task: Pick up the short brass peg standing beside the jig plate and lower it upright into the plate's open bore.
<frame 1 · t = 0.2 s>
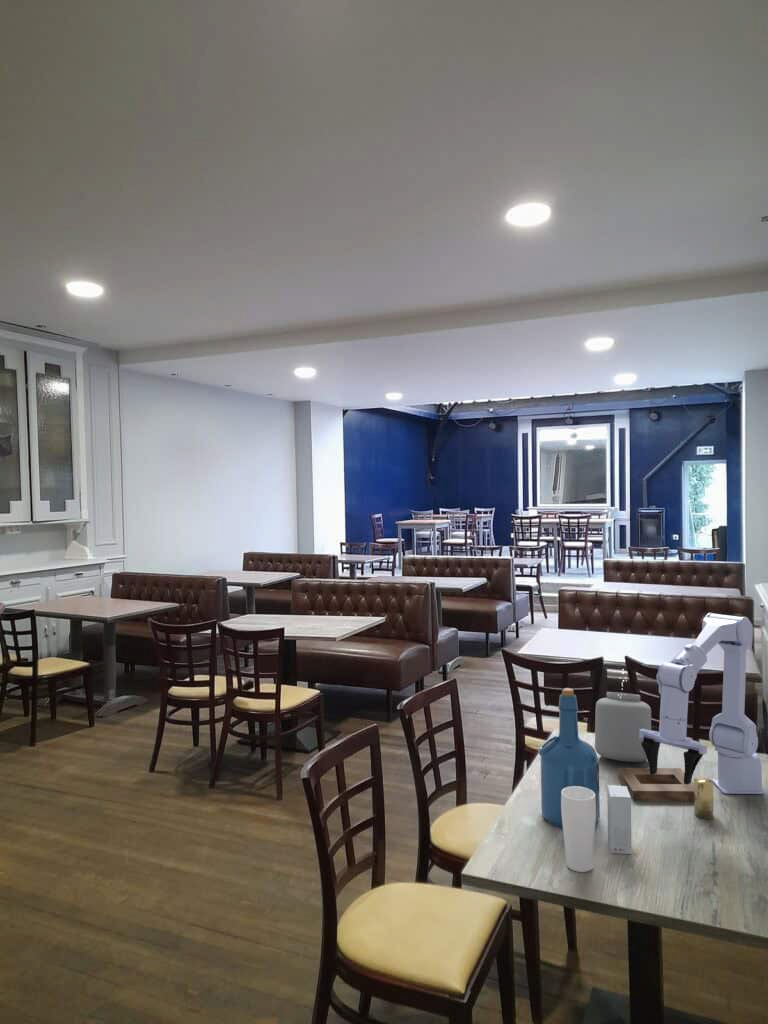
hand: (670, 778, 155), 10 cm above the table, tool pointing down, fingers open, 7 cm apart
jar: (623, 759, 194), on the table
wine bottle: (569, 818, 159), on the table
brass peg: (703, 815, 159), on the table
jig plate: (657, 788, 173), on the table
skincare box: (619, 847, 146), on the table
drinking glass: (579, 867, 139), on the table
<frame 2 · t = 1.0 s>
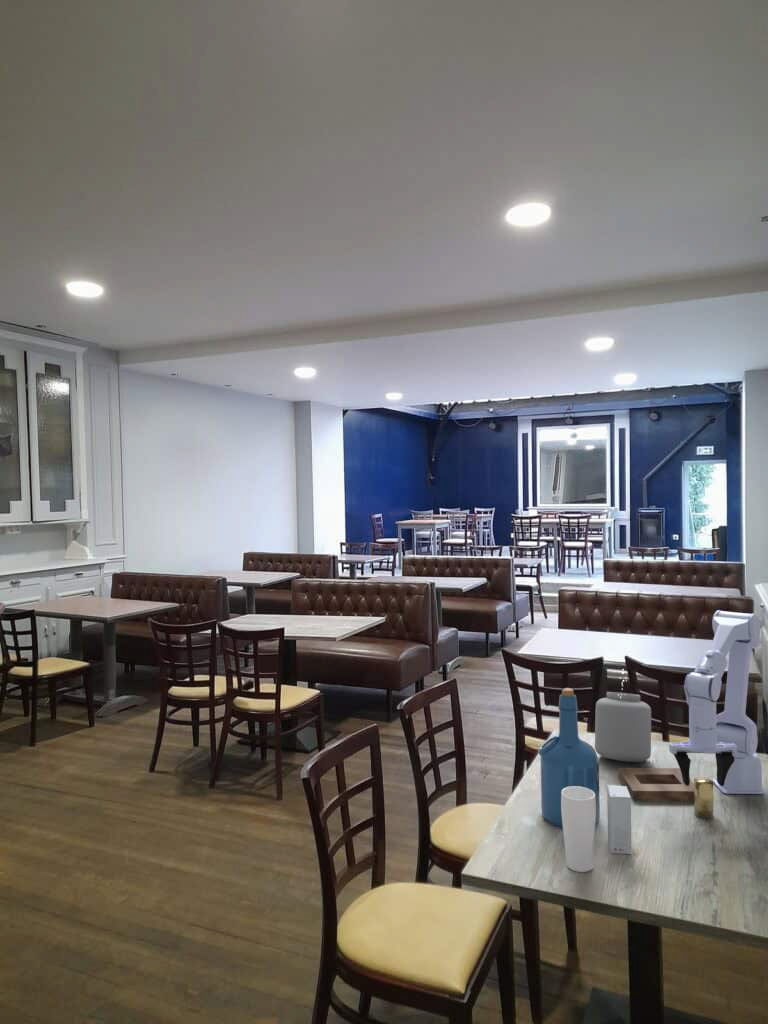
hand: (703, 784, 159), 7 cm above the table, tool pointing down, fingers open, 7 cm apart
nothing on the table moved.
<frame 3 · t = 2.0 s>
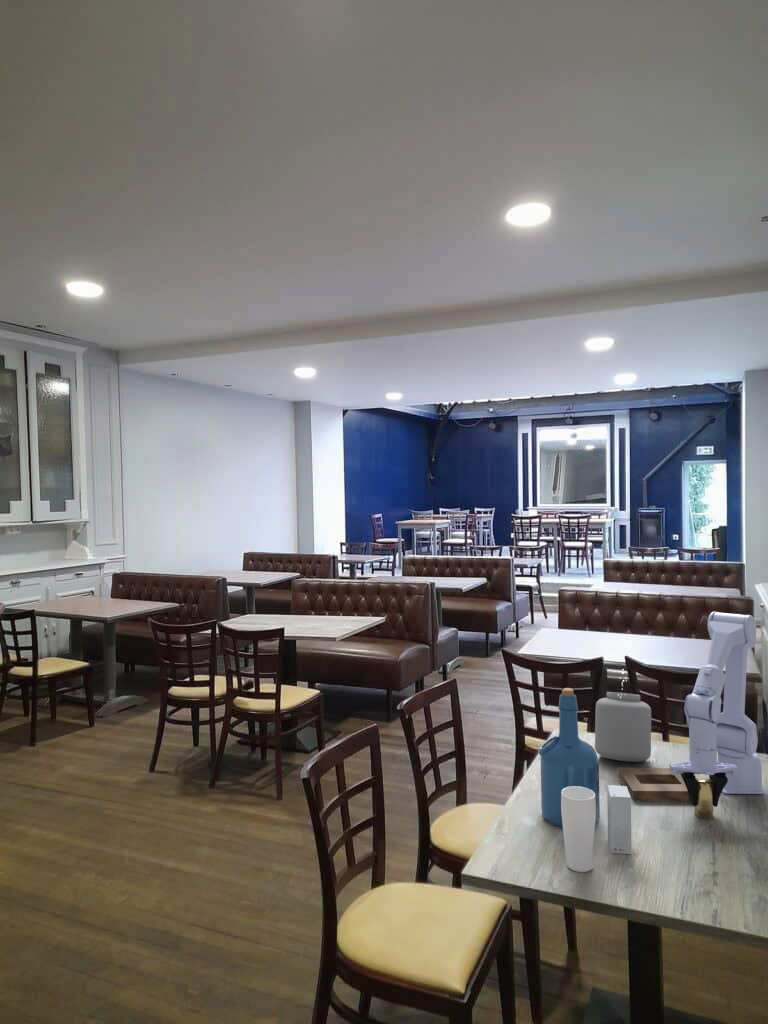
hand: (703, 804, 159), 2 cm above the table, tool pointing down, fingers closed on brass peg, 4 cm apart
brass peg: (703, 815, 159), on the table, touching gripper
everything else where it was.
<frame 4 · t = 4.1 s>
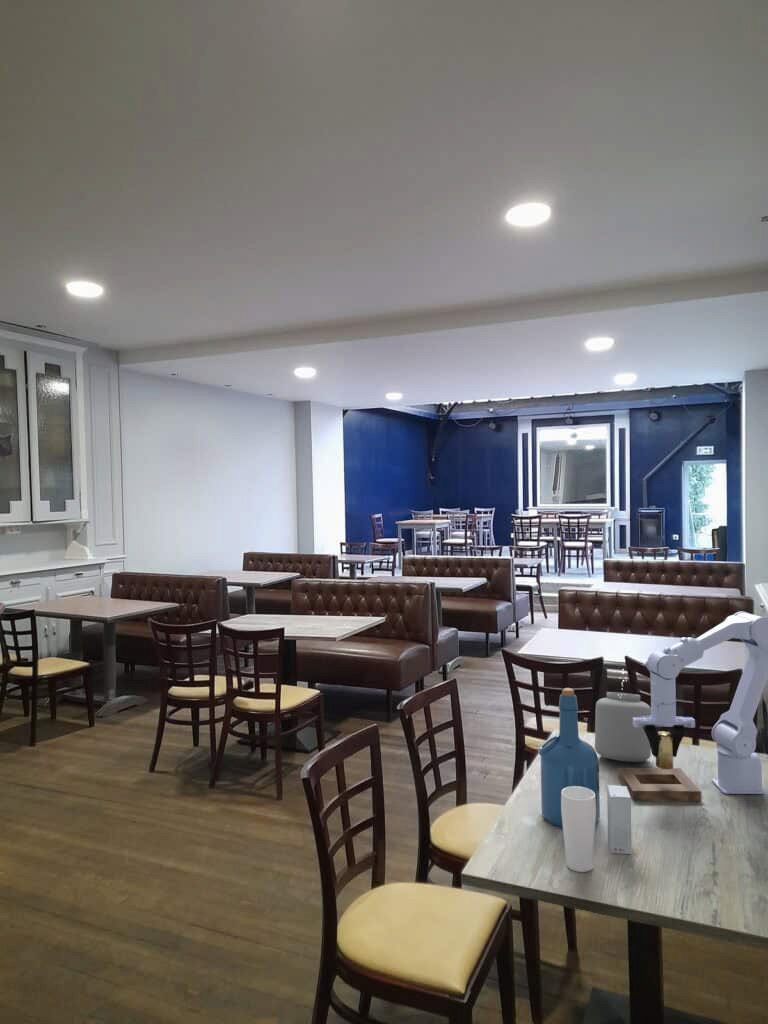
hand: (664, 755, 171), 9 cm above the table, tool pointing down, fingers closed on brass peg, 4 cm apart
brass peg: (664, 765, 171), point 7 cm above the table, touching gripper
everything else where it was.
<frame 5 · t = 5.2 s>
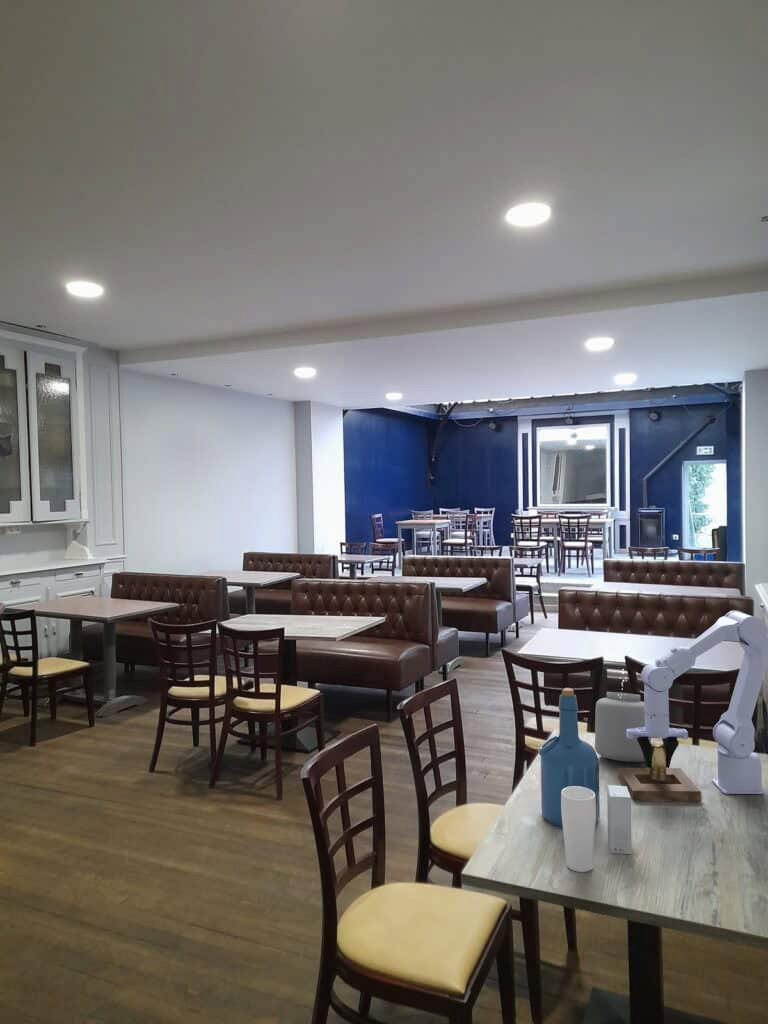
hand: (657, 766, 173), 6 cm above the table, tool pointing down, fingers closed on brass peg, 4 cm apart
brass peg: (657, 776, 173), point 3 cm above the table, touching gripper
everything else where it was.
when the fingers open (4 cm above the table, at t = 6.1 s): brass peg drops 1 cm, resting in jig plate.
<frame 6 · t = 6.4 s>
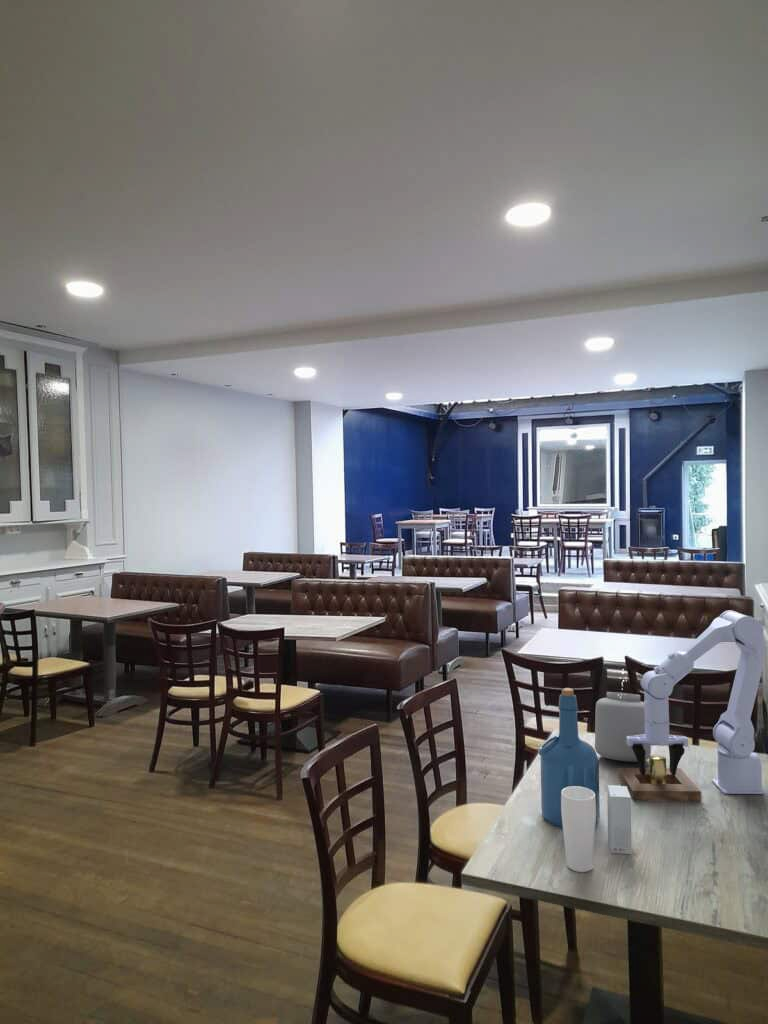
hand: (657, 773, 173), 4 cm above the table, tool pointing down, fingers open, 7 cm apart
brass peg: (657, 789, 173), resting in jig plate
everything else where it was.
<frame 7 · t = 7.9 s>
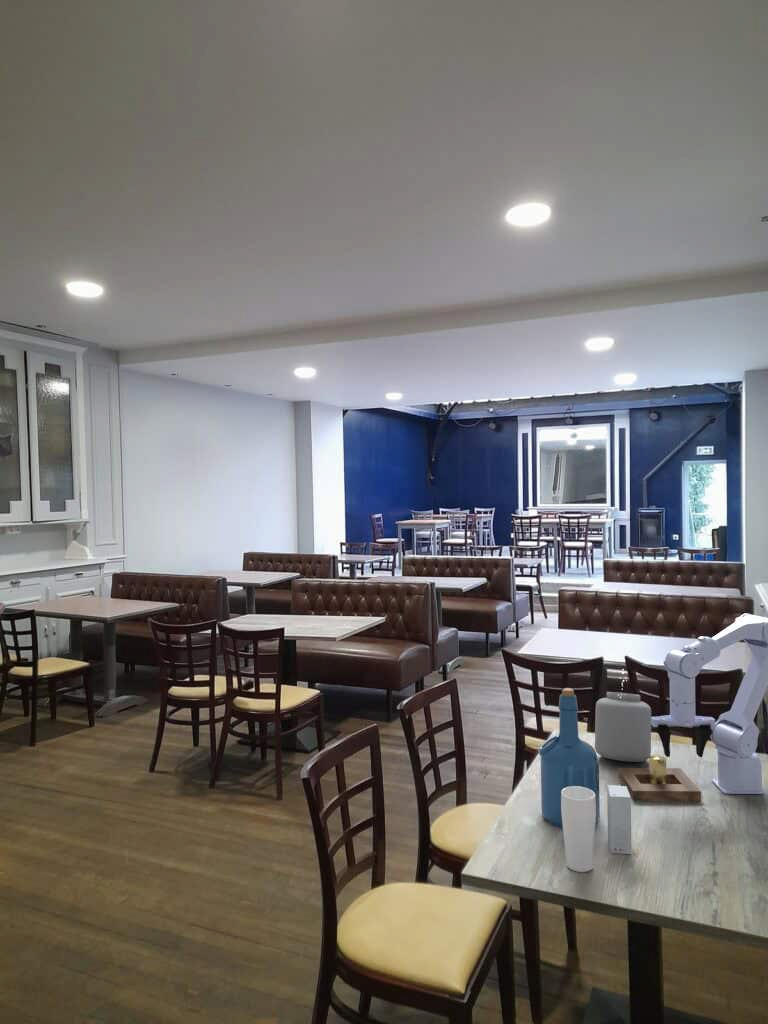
hand: (683, 755, 168), 10 cm above the table, tool pointing down, fingers open, 7 cm apart
nothing on the table moved.
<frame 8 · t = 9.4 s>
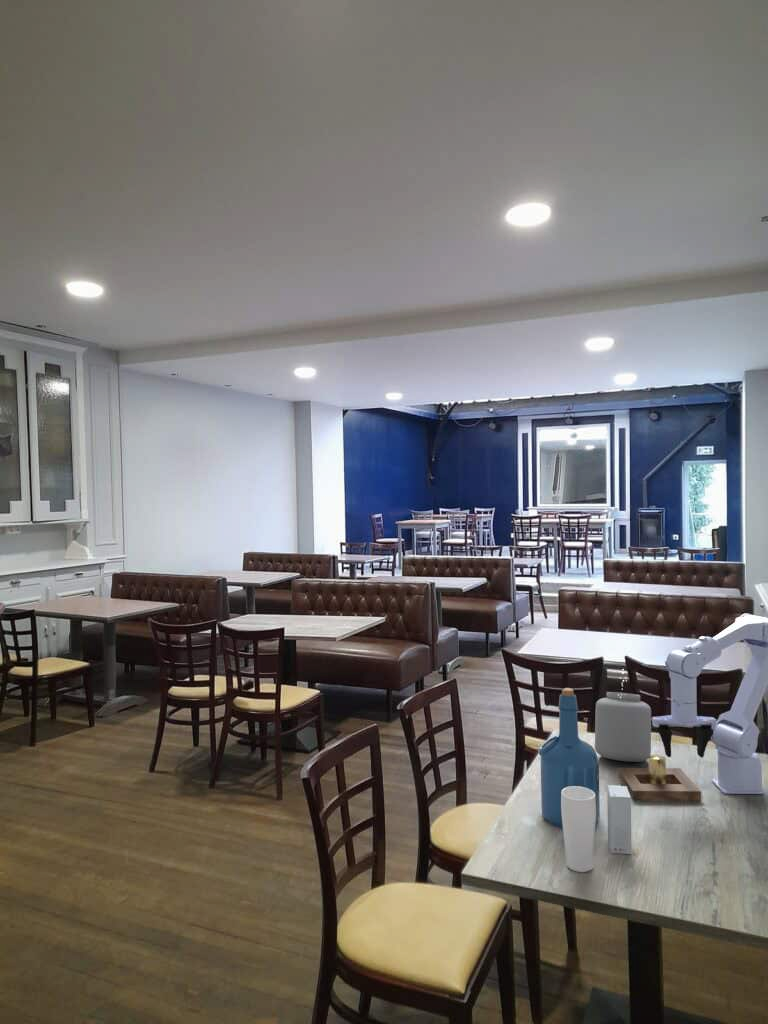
hand: (684, 755, 168), 10 cm above the table, tool pointing down, fingers open, 7 cm apart
nothing on the table moved.
at the end: brass peg 0.3 cm off-centre on the jig plate, point 0.0 cm above the jig plate's base; brass peg tilted 1°; the gripper is holding nothing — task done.
